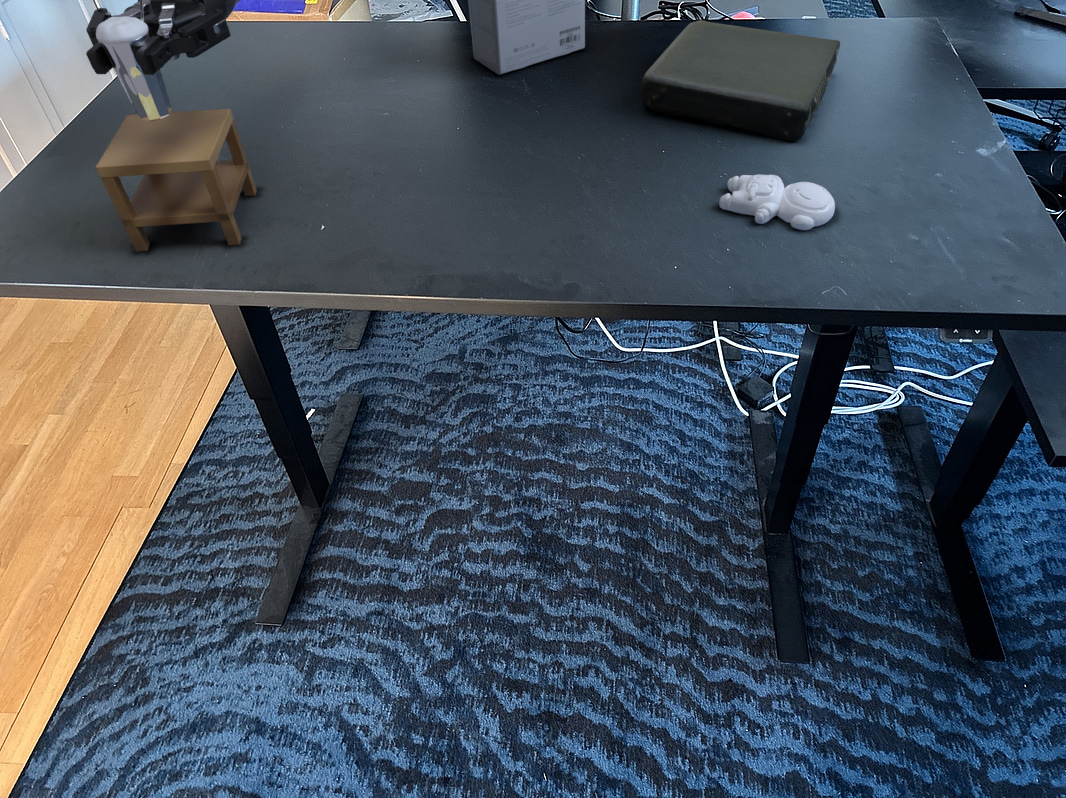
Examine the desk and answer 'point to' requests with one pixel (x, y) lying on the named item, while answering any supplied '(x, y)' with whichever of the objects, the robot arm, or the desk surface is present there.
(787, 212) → the astronaut figurine
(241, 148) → the wooden side table
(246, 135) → the desk surface
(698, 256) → the desk surface
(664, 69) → the network switch
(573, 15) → the hard drive box
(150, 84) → the milkshake
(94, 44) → the robot arm
